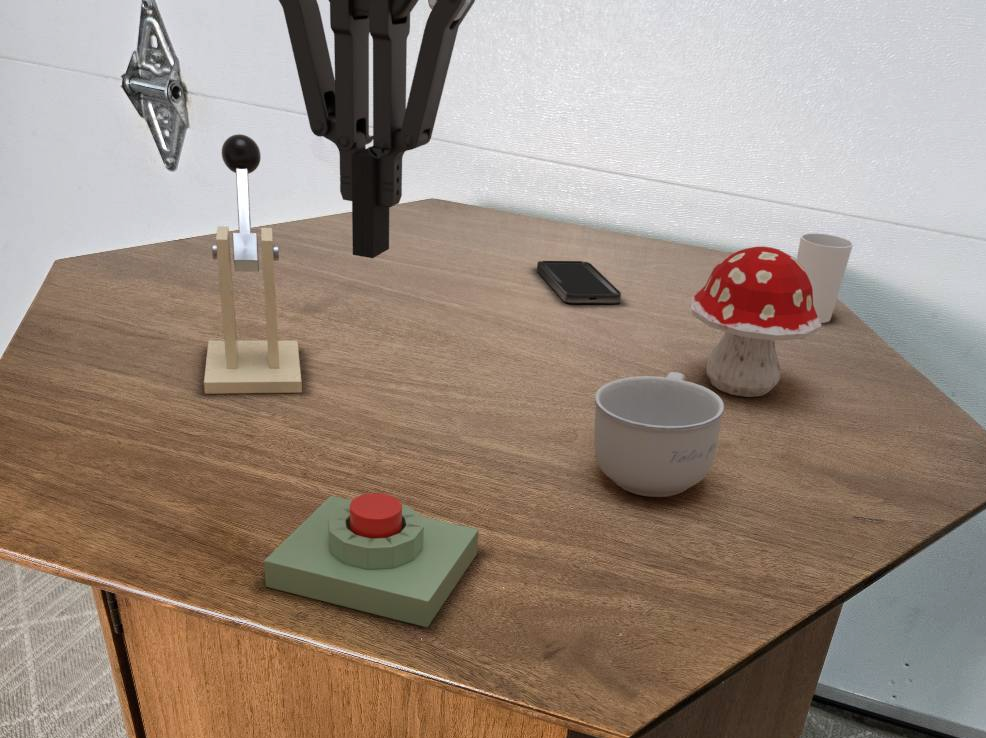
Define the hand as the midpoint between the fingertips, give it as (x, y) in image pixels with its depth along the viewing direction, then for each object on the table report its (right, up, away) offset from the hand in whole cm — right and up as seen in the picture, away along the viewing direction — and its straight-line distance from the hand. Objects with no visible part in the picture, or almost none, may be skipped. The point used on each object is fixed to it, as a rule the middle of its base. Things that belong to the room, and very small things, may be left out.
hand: (371, 251), depth 68 cm
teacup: (+22, -14, +20) cm, 33 cm away
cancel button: (0, -19, +1) cm, 19 cm away
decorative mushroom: (+33, -3, +40) cm, 52 cm away
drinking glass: (+48, +10, +64) cm, 80 cm away
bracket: (-17, -3, +32) cm, 36 cm away
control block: (0, -22, +3) cm, 22 cm away
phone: (+17, +15, +65) cm, 69 cm away
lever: (-17, +12, +28) cm, 35 cm away
